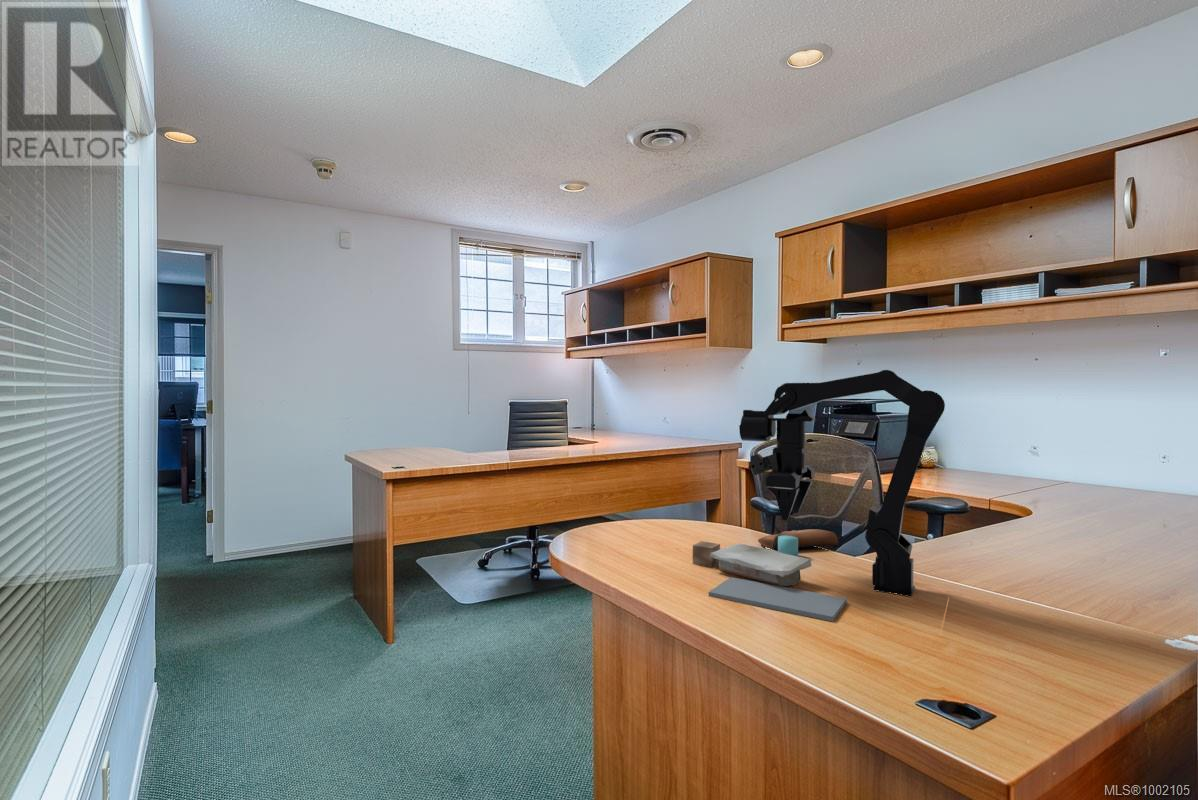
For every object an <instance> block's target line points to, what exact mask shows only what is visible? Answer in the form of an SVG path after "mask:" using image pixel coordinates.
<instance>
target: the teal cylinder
mask: <svg viewBox="0 0 1198 800" xmlns="http://www.w3.org/2000/svg"><path fill="white" fill-rule="evenodd" d="M778 552H781V553H784V554H788V555H793V556H798V557H799V547H798V538H797V537H794V536H778Z"/></svg>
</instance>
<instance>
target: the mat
mask: <svg viewBox="0 0 1198 800" xmlns="http://www.w3.org/2000/svg"><path fill="white" fill-rule="evenodd" d="M708 597H713V598H716V599H723V600H727V601H730V602H735V603H740V604H744V605H750V606H754V607H759V608H764V609H770V610H774V611H780V612H784V613H789V614H793V615H798V616H804V617H808V618H809V617H810V618H813V619H818V620H823V621H828V622H834V621H835V619H836V618H837V617H838V616H839V614H840V613H839V612H842V610H841V609H844V607H845V606H846V604H847V602H848V598H847V597H842V596H835V595H831V594H825V593H820V592H813V591H809V590H803V589H798V588H792V587H788V586H778V585H774V584H769V583H766V582H761V581H755V580H748V579H743V578H737V577H732V576H730V577H729V578H727V579H725V580H724V581H723V582H722V583H720V584H718V585H717V586H715V587H714V588H712V589H710V591H708ZM844 605H845V606H844Z"/></svg>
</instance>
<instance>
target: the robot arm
mask: <svg viewBox="0 0 1198 800" xmlns="http://www.w3.org/2000/svg"><path fill="white" fill-rule="evenodd" d="M882 391H884V392H886V393H887V394H889V395H890V396H892V397H894V398H895V399H897V400H898V401H900V402H902V403H903V404H905V405H906V406H908V413H907V419H906V421H907V422H906V429H905V430H906V433H905V437H904V439H903V442H902V446H901V449H900V452H899V456H898V458H897V461H896V464H895V466H894V469H893V473H892V475H891V479H890V482H889V484H888V487H887V489H886V494H885V496H884V499H883V502H882V503H881V505H880V507H878V506H876V505H872V506H871V508H870V509H869V511H868V517H867V519H868V520H867V522H866V523H865V525H864V526H863V527H862V530H863V531H865V536H864V538H865V541H866V543H867V544H868V546H869V547H870V548H871V549H872V550H874V551H875V553H876V556H875V561H874V562H873V564H872V577H871V579H872V583H871V584H872V585H873V591H874V590H879V591H884V592H883V593H885V592H891V593H897V594H902V595H908V596H911V595H912V596H913V594H912V593H914V592H915V588H916V587H915V585H914V558H911V554H912V551H913V544H912V543H911V542H910V541H909V540H908V539H907V538H906V537H904V535H903V534H902V527H903V526H902V525H903V518H904V510H905V509H904V507H905V504H906V501H907V499H908V495H909V492H910V490H911V487H912V484H913V481H914V478H915V475H916V472H917V469H918V466H919V463H920V460H921V458H922V455H923V452H924V449H925V446H926V443H927V441H928V439H929V437H930V436H931V434H932V433H933V430H934V429H935V427H936V425H937V424H938V422H939V421H940V419H941V417H942V416H943V413H944V411H945V407H946V404H945V400H944V399H943V397H942V395H940V394H939V393H937V392H935V391H933V390H927V389H926V390H922V389H920V388H918V387H916V386H915V385H913V384H912V383H910V382H908V381H907V380H905V379H903V378H902V377H900V376H899V375H897V373H896V372H894V371H893V370H890V369H882V370H880V371H878V372H873V373H867V374H862V375H861V374H860V375H856V376H851V377H844V378H838V379H835V380H834V379H833V380H829V381H828V380H827V381H822V382H784V383H782V384H779V385H778V387H777V388H776V390H775V391H774V397H773V398H774V399H773V400H772V401H771V403H770V404H769V405H768V406H767V408H766V409H765V410H754V409H743V411H742V416H741V419H740V420H741V421H740V424H739V425H738V426H739V427H738V428H739V430H738V431H739V437H740V439H741V441H747V442H770V440H771V438H774V437H775V436H776V447H773V448H772V454H770V455H767V456H762V455H761V454H760V453H757V454H754V455H751V456H750V458H749V459H750V460H749V461H748V462H747V463H748V466H747V467H748V469H749V470H751V472H752V475H753V476H754V477H755V476H758V475H759V474H762V473H765V472H767V471H768V472H767V473H766V474H765V475H764V476H763V481H764V483H763V486H764V487H766V489H767V490H768V491H770V492H771V493H772V494H773V495H774V497H775V499H776V502H777V507H778V511H779V513H780V518H781V520H782V521H785V522H787V521H788V520H789V518H790V516H791V512H792V513H793V514H798V513H799V512H800V510H801V508H802V506H803V503H804V501H805V498H806V497H807V494H808V492H809V490H810V488H811V486H812V484H813V483H814V482H813V481H814V479H815V478H816V477H815V473H816V472H815V471H816V470H815V469H814V468H813V467H812V466H811V465H810V464H809V465H806V453H807V452H808V447H807V446H806V422H807V423H808V422H816V418H815V417H814V416H813V415H812V414H811V413H810V411H809V410H808V409H804V408H807V407H809V406H813V405H815V404H818V403H820V402H823V401H826V400H832V399H839V398H845V397H850V396H856V395H863V394H868V393H869V394H870V393H875V392H882ZM800 409H801V410H802V409H803V411H802V412H801V413H798V412H797V413H796V412H795V413H794V412H792V413H791V412H788V411H797V410H800ZM786 413H787V414H786ZM784 414H786V415H785V417H774V416H778V415H784ZM879 591H878V592H879ZM913 591H914V592H913ZM902 595H901V596H902ZM908 596H907V597H908ZM912 596H911V597H912Z"/></svg>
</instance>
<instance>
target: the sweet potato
mask: <svg viewBox="0 0 1198 800" xmlns="http://www.w3.org/2000/svg"><path fill="white" fill-rule="evenodd" d="M778 536H794V537H797V538H798V548H810V547H830V546H831V547H834V548H837V547H838V545H839V539H838V537H837V534H836V533H835V532H833V531H829V530H825V529H815V528H814V529H812V528H811V529H799V530H795V529H794V530H793V529H792V530H790V531H789V530H788V531H786V530H784V531H781V532H780V533H776V534H775V533H774V534H770V535H766V536H765V535H764V536H762V537H760V538H758V539H757V541H758V543H759V544H760V545H761V546H762V545H763V546H765V547H767V548H770V549H772V550H775V551H778ZM763 546H762V547H763Z"/></svg>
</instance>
